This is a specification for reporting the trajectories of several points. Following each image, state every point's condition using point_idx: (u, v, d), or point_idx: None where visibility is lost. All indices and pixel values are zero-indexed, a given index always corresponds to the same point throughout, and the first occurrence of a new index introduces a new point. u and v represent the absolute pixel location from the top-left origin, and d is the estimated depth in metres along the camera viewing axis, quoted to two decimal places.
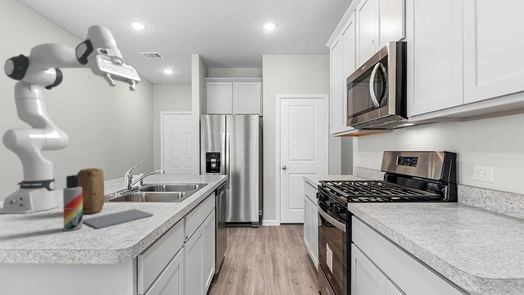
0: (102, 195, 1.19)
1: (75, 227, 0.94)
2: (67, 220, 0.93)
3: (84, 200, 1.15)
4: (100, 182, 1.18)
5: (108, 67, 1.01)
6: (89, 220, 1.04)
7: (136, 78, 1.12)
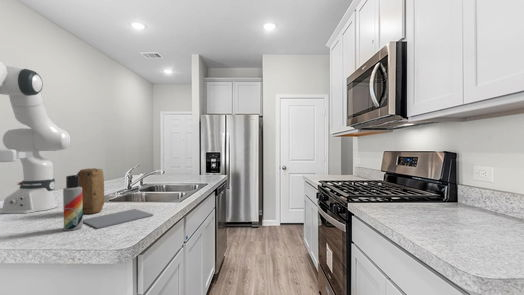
0: (102, 195, 1.19)
1: (75, 227, 0.94)
2: (67, 220, 0.93)
3: (84, 200, 1.15)
4: (100, 182, 1.18)
5: None
6: (89, 220, 1.04)
7: None
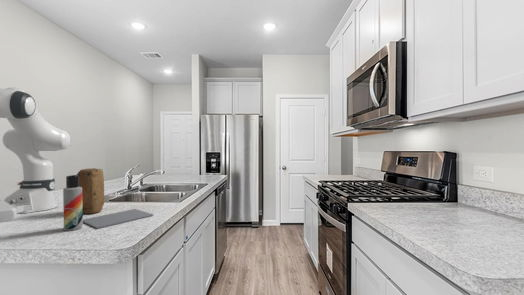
0: (102, 195, 1.19)
1: (75, 227, 0.94)
2: (67, 220, 0.93)
3: (84, 200, 1.15)
4: (100, 182, 1.18)
5: None
6: (89, 220, 1.04)
7: None
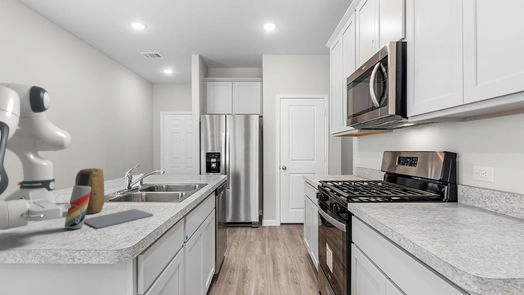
0: (102, 195, 1.19)
1: (76, 225, 0.94)
2: (70, 217, 0.93)
3: None
4: (100, 182, 1.18)
5: None
6: (89, 220, 1.04)
7: None
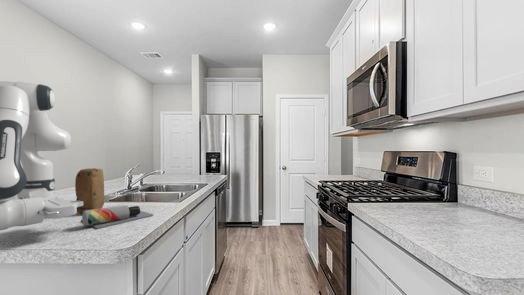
0: (102, 195, 1.19)
1: (88, 224, 0.95)
2: (97, 217, 0.97)
3: (84, 200, 1.15)
4: (100, 182, 1.18)
5: None
6: None
7: None
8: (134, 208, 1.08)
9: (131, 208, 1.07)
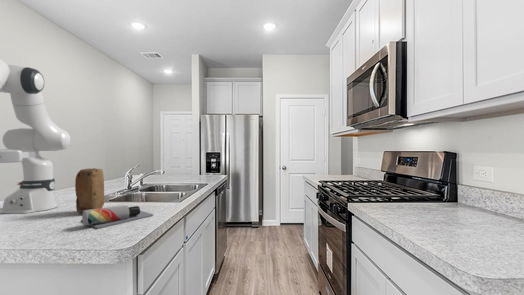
0: (102, 195, 1.19)
1: (88, 223, 0.95)
2: (97, 216, 0.97)
3: (84, 200, 1.15)
4: (100, 182, 1.18)
5: None
6: None
7: None
8: (134, 208, 1.08)
9: (131, 208, 1.07)
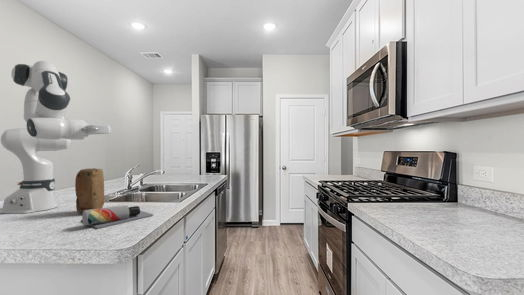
0: (102, 195, 1.19)
1: (88, 223, 0.95)
2: (97, 216, 0.97)
3: (84, 200, 1.15)
4: (100, 182, 1.18)
5: None
6: None
7: None
8: (134, 208, 1.08)
9: (131, 208, 1.07)
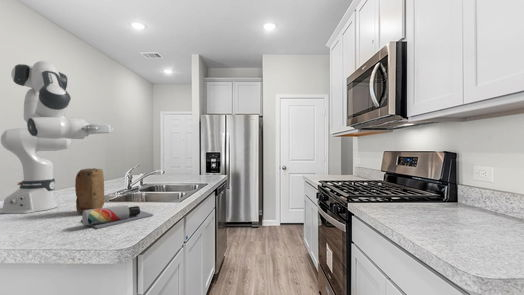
0: (102, 195, 1.19)
1: (88, 223, 0.95)
2: (97, 216, 0.97)
3: (84, 200, 1.15)
4: (100, 182, 1.18)
5: None
6: None
7: None
8: (134, 208, 1.08)
9: (131, 208, 1.07)
